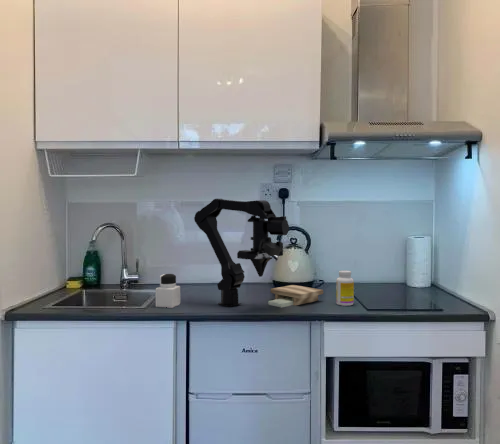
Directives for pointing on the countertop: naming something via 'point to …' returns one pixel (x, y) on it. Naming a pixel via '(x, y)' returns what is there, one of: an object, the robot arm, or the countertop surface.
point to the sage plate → (282, 302)
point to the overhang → (297, 293)
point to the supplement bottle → (345, 289)
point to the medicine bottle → (167, 292)
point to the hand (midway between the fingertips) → (260, 276)
